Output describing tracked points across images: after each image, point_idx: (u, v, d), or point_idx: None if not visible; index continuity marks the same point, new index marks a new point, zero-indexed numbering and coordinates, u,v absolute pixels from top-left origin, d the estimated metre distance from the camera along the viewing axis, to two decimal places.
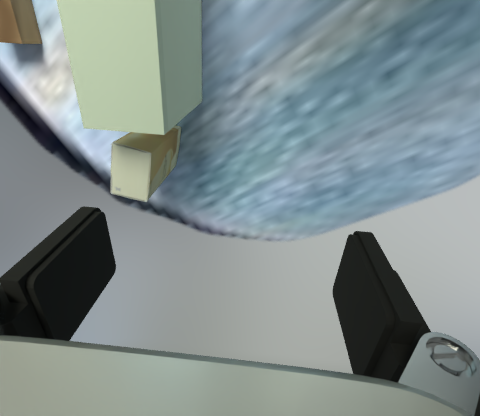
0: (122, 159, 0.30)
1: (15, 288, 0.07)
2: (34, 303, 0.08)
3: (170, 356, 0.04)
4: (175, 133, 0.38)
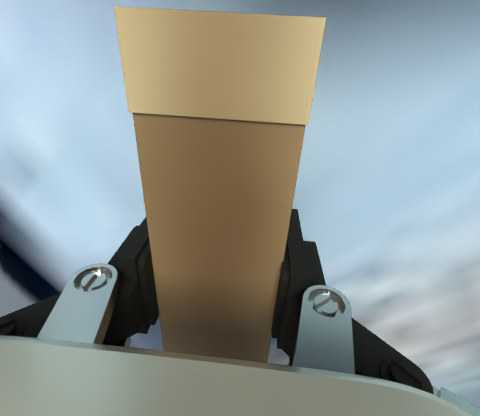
0: None
1: (130, 266, 0.08)
2: (141, 281, 0.09)
3: (170, 356, 0.04)
4: None
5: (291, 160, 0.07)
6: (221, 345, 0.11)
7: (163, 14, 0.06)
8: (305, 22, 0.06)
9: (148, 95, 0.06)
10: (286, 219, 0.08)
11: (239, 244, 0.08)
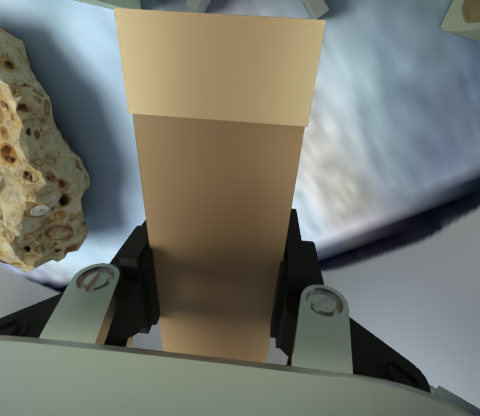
0: None
1: (132, 266, 0.08)
2: (143, 280, 0.09)
3: (170, 356, 0.04)
4: None
5: (290, 161, 0.07)
6: (220, 345, 0.11)
7: (163, 16, 0.06)
8: (304, 24, 0.06)
9: (148, 96, 0.06)
10: (285, 220, 0.08)
11: (238, 245, 0.08)
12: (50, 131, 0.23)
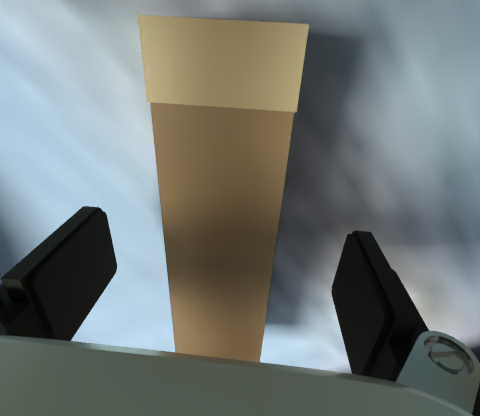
0: None
1: (17, 287, 0.07)
2: (36, 302, 0.08)
3: (170, 356, 0.04)
4: None
5: (283, 142, 0.08)
6: (223, 313, 0.12)
7: (178, 21, 0.07)
8: (292, 27, 0.07)
9: (164, 87, 0.08)
10: (279, 194, 0.09)
11: (240, 217, 0.10)
12: None
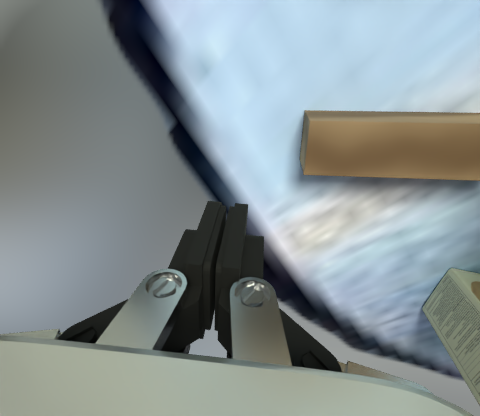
0: None
1: (196, 271, 0.08)
2: (205, 286, 0.09)
3: (170, 356, 0.04)
4: None
5: (475, 178, 0.21)
6: (373, 153, 0.20)
7: None
8: None
9: None
10: (450, 178, 0.21)
11: (441, 161, 0.20)
12: None
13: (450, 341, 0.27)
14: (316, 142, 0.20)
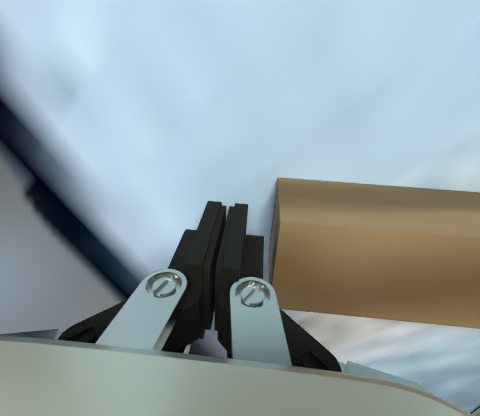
0: None
1: (196, 271, 0.08)
2: (205, 286, 0.09)
3: (170, 356, 0.04)
4: None
5: None
6: (408, 286, 0.10)
7: None
8: None
9: None
10: None
11: None
12: None
13: None
14: (293, 260, 0.10)
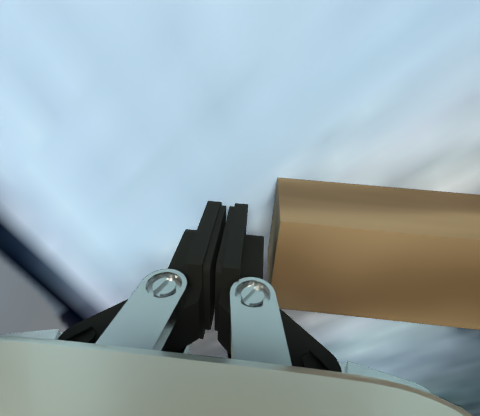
0: None
1: (196, 271, 0.08)
2: (205, 286, 0.09)
3: (170, 356, 0.04)
4: None
5: None
6: (406, 286, 0.10)
7: None
8: None
9: None
10: None
11: None
12: None
13: None
14: (292, 259, 0.10)
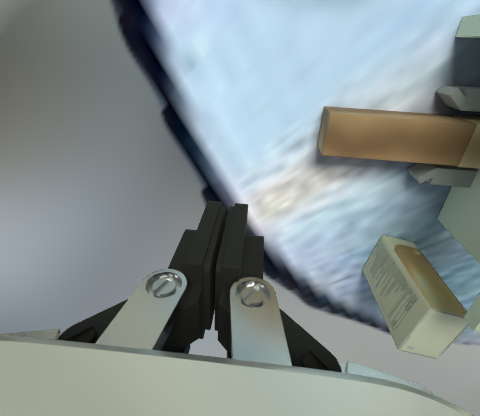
0: (434, 324, 0.26)
1: (196, 271, 0.08)
2: (205, 286, 0.09)
3: (170, 356, 0.04)
4: None
5: (449, 163, 0.28)
6: (375, 141, 0.27)
7: None
8: None
9: None
10: (431, 162, 0.28)
11: (425, 149, 0.27)
12: None
13: (377, 290, 0.34)
14: (333, 130, 0.27)
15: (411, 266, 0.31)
